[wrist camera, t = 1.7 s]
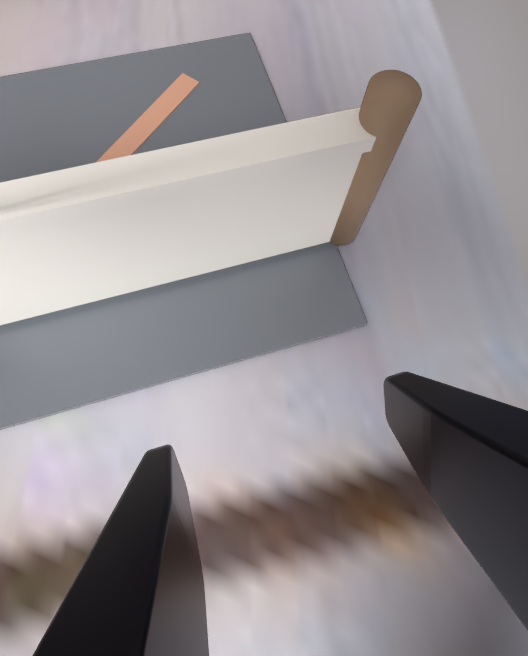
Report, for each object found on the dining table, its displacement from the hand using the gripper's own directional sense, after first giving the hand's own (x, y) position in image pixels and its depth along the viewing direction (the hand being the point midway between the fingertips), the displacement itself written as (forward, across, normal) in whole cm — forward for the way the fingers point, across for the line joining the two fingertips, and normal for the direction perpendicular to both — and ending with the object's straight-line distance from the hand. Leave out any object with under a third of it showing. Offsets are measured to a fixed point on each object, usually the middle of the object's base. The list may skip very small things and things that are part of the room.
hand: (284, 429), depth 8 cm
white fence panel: (+15, +1, +2) cm, 15 cm away
